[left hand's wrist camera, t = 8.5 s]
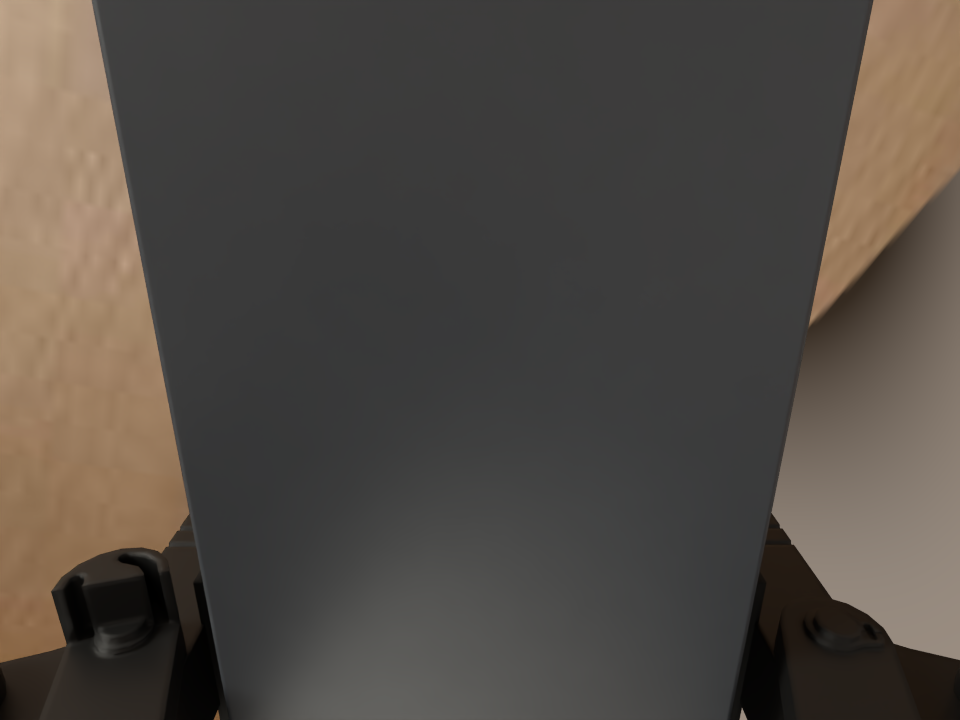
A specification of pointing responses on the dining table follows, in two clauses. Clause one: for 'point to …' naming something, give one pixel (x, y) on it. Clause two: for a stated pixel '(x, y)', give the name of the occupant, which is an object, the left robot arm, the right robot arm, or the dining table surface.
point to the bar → (481, 333)
